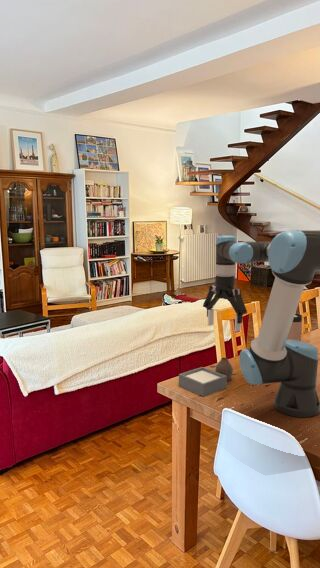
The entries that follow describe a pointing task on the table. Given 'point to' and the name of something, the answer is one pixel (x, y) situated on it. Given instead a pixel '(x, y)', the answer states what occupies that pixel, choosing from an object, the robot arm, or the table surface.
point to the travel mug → (295, 328)
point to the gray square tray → (202, 381)
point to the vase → (224, 368)
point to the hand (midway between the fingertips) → (223, 328)
